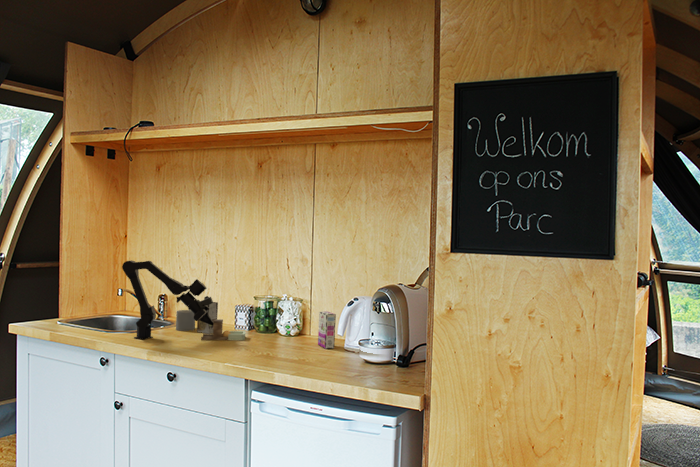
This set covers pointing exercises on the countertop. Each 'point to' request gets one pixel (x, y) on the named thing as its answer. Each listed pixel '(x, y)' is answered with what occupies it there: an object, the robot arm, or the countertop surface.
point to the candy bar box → (326, 330)
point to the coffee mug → (185, 320)
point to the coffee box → (213, 311)
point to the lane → (210, 337)
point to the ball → (226, 333)
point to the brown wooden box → (217, 328)
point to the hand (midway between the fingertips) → (213, 324)
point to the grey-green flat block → (236, 335)
